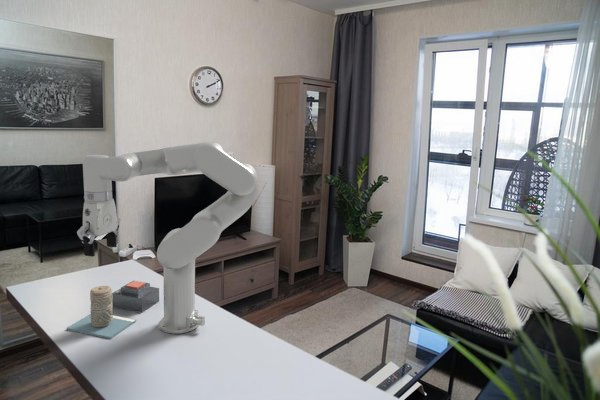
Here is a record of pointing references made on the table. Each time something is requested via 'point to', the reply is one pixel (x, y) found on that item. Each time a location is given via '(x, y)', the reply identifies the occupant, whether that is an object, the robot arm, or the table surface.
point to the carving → (101, 306)
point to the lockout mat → (107, 332)
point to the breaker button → (135, 285)
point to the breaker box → (136, 298)
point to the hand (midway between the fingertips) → (101, 251)
